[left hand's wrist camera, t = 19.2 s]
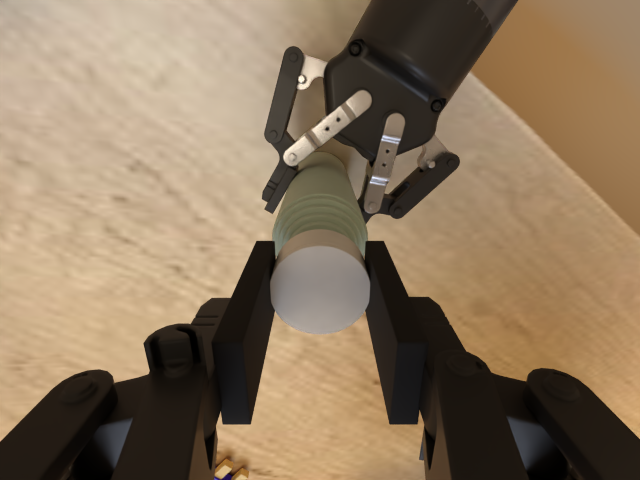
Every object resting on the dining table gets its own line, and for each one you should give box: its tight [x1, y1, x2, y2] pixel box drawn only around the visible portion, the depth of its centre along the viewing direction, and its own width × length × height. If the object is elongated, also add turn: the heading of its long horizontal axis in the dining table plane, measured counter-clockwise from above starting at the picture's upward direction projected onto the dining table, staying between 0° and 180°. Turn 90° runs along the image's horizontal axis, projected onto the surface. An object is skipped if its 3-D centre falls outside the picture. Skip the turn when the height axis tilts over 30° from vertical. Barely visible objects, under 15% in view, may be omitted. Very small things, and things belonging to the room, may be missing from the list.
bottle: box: [272, 152, 368, 257], centre depth 23 cm, size 5×5×20 cm
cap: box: [270, 229, 370, 334], centre depth 14 cm, size 4×4×2 cm
